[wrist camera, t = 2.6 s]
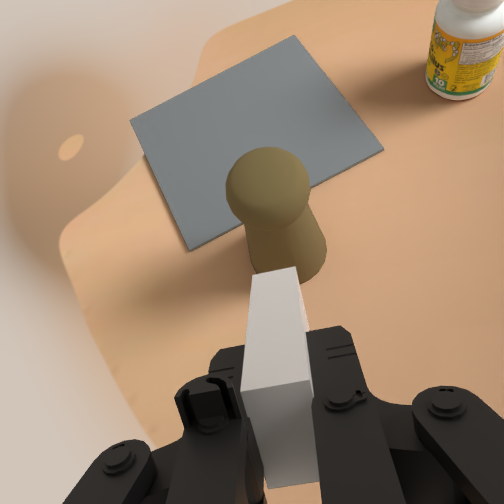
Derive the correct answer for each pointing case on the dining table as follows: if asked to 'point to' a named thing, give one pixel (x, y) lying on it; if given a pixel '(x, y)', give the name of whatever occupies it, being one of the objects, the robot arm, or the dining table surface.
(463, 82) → the supplement bottle
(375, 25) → the dining table surface
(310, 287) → the dining table surface
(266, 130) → the mat
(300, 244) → the cork
